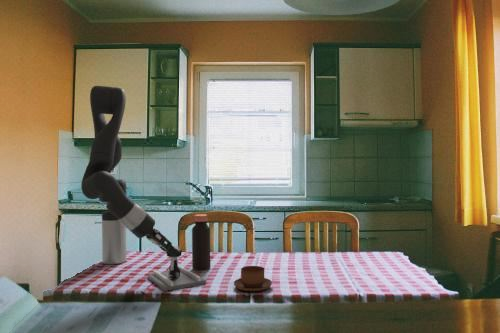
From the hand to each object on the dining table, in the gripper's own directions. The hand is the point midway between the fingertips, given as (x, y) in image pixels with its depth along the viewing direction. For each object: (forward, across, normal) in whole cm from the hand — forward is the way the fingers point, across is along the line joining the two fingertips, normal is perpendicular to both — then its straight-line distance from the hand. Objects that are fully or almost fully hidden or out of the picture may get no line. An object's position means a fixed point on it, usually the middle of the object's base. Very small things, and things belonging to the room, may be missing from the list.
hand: (171, 251), depth 131 cm
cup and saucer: (+21, -21, -6) cm, 30 cm away
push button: (+6, -1, +6) cm, 9 cm away
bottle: (+18, +10, -4) cm, 21 cm away
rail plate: (+8, 0, +6) cm, 10 cm away
